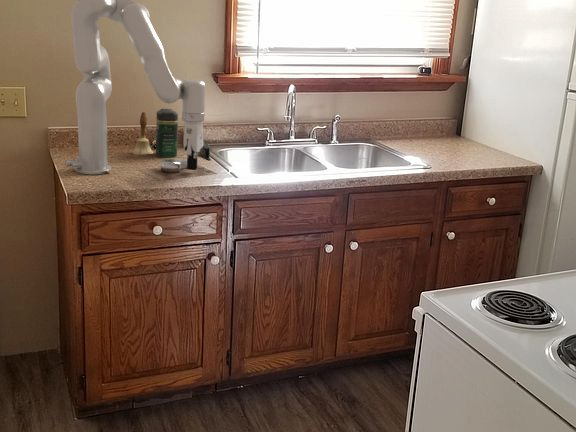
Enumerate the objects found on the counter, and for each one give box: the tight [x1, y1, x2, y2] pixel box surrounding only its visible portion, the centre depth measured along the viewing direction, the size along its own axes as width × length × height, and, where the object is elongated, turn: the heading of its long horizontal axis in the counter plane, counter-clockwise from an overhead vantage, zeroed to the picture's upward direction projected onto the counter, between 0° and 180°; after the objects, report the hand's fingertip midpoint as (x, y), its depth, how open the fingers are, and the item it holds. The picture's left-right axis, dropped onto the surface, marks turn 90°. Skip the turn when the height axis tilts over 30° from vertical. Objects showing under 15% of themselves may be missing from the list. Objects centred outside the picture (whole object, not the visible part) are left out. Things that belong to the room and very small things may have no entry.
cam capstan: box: [160, 158, 187, 172], centre depth 246 cm, size 14×7×3 cm, turn 140°
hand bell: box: [131, 111, 154, 156], centre depth 269 cm, size 8×8×16 cm
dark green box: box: [199, 140, 211, 161], centre depth 273 cm, size 5×3×15 cm
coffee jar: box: [155, 108, 179, 159], centre depth 264 cm, size 10×8×19 cm
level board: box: [138, 163, 219, 182], centre depth 244 cm, size 23×15×1 cm, turn 127°
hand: (192, 169), depth 244 cm, fingers closed
